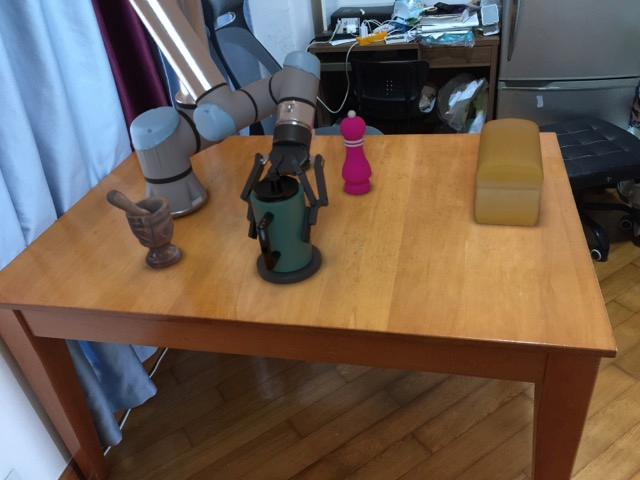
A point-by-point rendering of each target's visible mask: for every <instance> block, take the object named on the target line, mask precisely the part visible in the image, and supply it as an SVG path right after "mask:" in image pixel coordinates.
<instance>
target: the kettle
mask: <svg viewBox="0 0 640 480" xmlns="http://www.w3.org/2000/svg"><path fill="white" fill-rule="evenodd" d="M262 179H263V178H262ZM262 179H260V180H259V182H258V183H256V184H255V186H254V188H253V190H252V192H251V194H250V198H251V203H252V208H253V213H254V218H255V222H256V228H257V233H258V236H257V239H258V242H259V247H260V251H261V252H260V253H262V257H263V262H264V267H265V269H266V270H267V271H272V270H273V271H276V272H291V271H295V270H298V269H301V268H303V267H304V266H306V265H307V264H308V263H309V262H310V261H311V260H312V257H313V251H312V244H313V243H312V238H311V236H310V241H309V243H305V242H303V241H302V240H301V237H302V229H303V221H304V213H305V206H307V203H306V194H305V192H304V188H303V185H302V184H301V183H300V181H298V178H295V176H291V175H287V176H285V175H279V176H271V177H268V178H265V179H263V180H262Z"/></svg>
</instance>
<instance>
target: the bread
mask: <svg viewBox="0 0 640 480" xmlns="http://www.w3.org/2000/svg"><path fill="white" fill-rule="evenodd" d="M542 155H543V154H542V144H541V133H540V127H539V126H538V125H537V123H536V122H535V121H532V120H529V119H523V118H515V117H507V118H499V119H494V120H489V121H487V122H486V123H484V124H483V125H482V126H481V129H480V135H479V142H478V151H477V159H476V167H475V174H474V175H475V177H474V179H475V185H476V186H475V193H474V194H475V195H474V209H473V210H474V221H475V222H476V223H477V224H483V225H484V224H485V225H503V226H518V227H519V226H520V227H521V226H522V227H534V226H535V225H536V223H537V220H538V216H539V212H540V211H539V210H540V203H541V188H542V186H543V182H544V176H545V175H544V165H543V164H544V163H543V156H542Z"/></svg>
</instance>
